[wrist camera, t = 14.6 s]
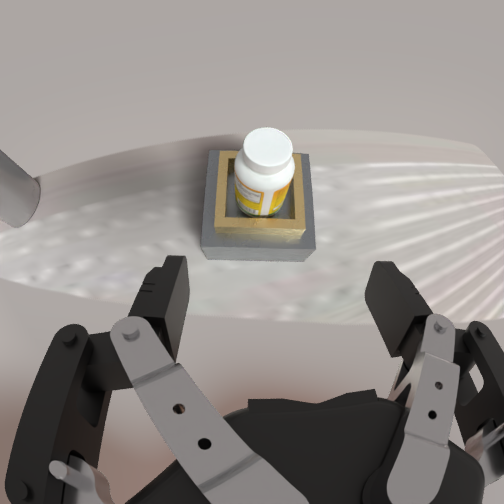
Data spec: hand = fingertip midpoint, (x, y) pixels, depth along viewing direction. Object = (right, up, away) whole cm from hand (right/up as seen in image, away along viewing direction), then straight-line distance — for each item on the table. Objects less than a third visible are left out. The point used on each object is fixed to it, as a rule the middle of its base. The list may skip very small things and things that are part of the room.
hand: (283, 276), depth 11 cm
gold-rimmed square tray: (-1, +6, +25) cm, 25 cm away
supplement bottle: (0, +7, +19) cm, 20 cm away
